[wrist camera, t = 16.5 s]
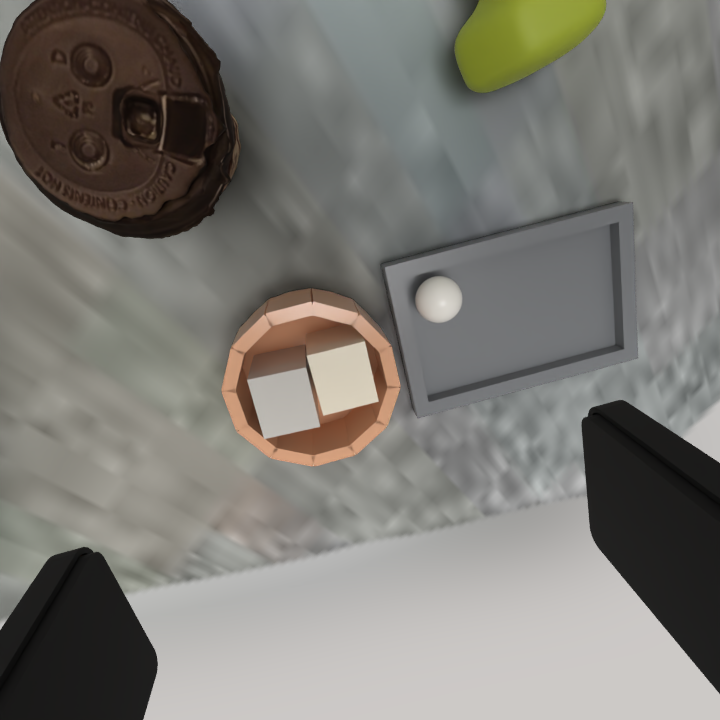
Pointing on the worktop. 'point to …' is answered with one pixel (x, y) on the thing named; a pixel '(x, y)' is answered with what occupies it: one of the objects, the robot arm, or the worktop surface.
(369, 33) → the worktop surface
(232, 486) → the worktop surface
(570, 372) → the tray
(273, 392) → the grey sharp-edged block
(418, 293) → the pebble
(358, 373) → the cream cube
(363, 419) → the bowl
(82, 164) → the coffee cup
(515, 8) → the dumbbell
